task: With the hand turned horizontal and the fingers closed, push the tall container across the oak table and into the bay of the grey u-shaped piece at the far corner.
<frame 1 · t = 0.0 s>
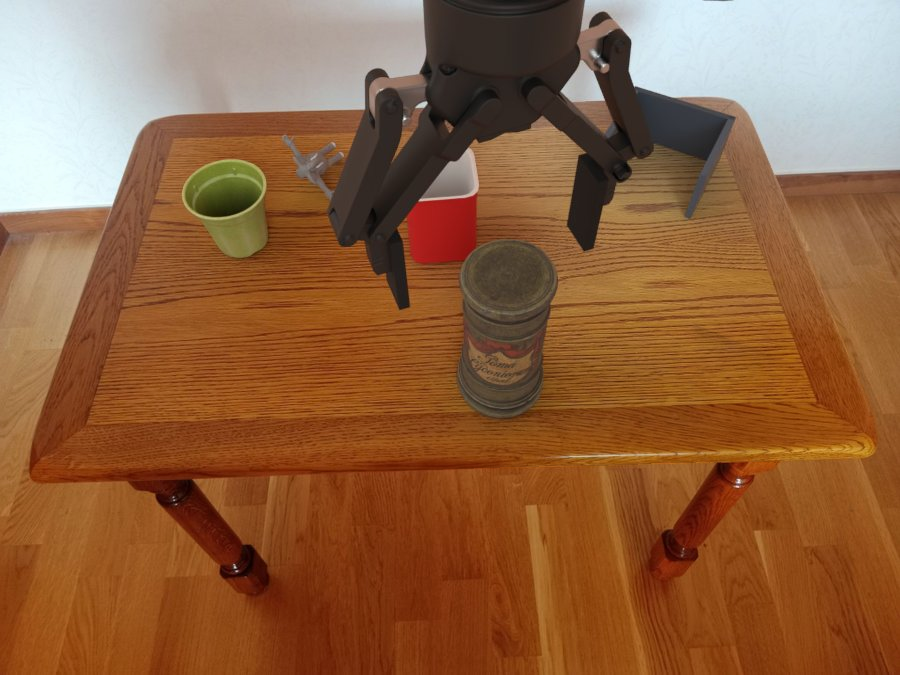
hand: (491, 265, 49), 27 cm above the table, tool pointing down, fingers open, 13 cm apart
container: (499, 383, 75), on the table
plant pot: (244, 240, 87), on the table
mug: (440, 227, 87), on the table
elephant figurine: (316, 179, 92), on the table
grey u-shaped piece: (656, 172, 92), on the table
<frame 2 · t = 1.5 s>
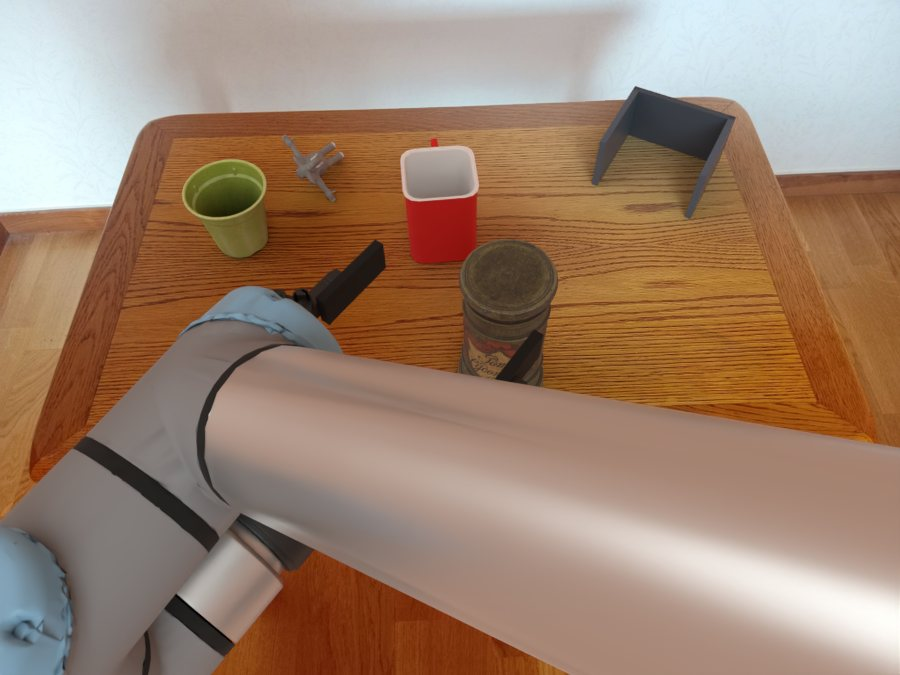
hand: (455, 295, 50), 24 cm above the table, tool horizontal, fingers open, 13 cm apart
nothing on the table moved.
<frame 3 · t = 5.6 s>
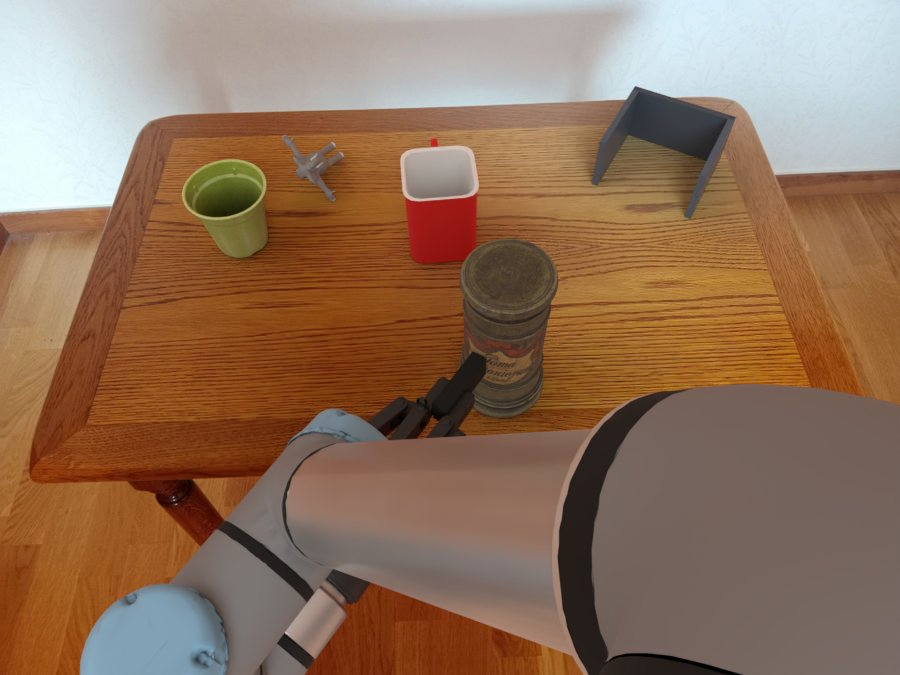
hand: (479, 362, 65), 9 cm above the table, tool horizontal, fingers closed
container: (499, 382, 75), on the table, touching gripper
everything else where it was.
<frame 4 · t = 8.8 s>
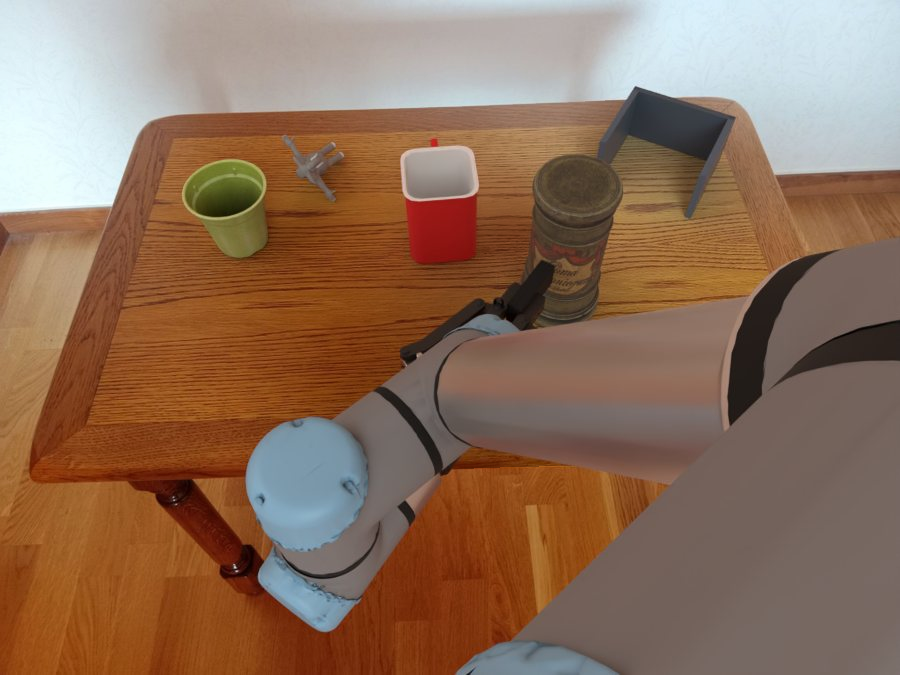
hand: (546, 271, 71), 9 cm above the table, tool horizontal, fingers closed
container: (556, 301, 80), on the table, touching gripper
everything else where it was.
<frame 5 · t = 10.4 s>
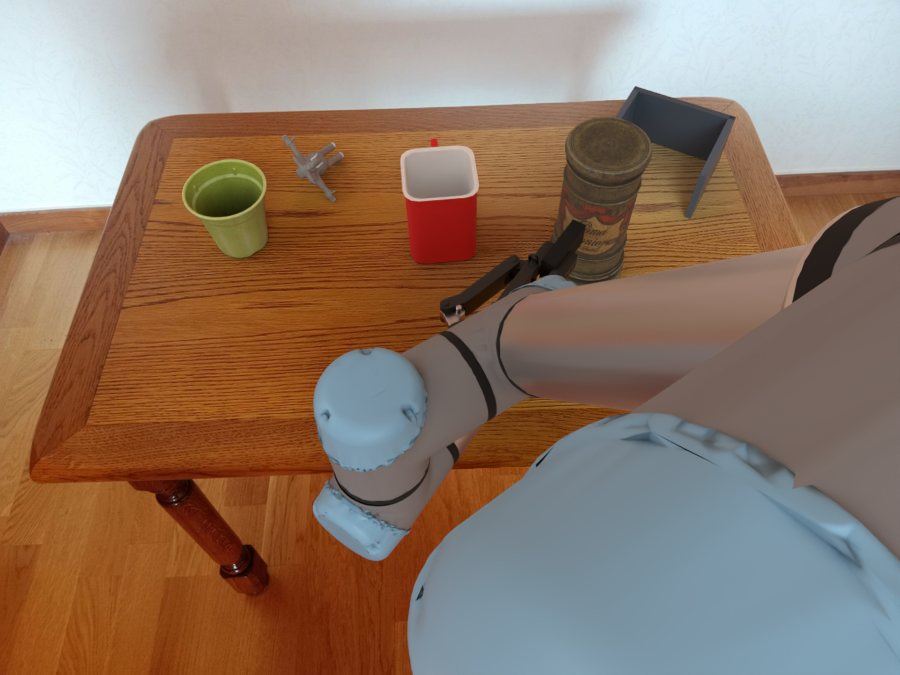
hand: (577, 231, 74), 9 cm above the table, tool horizontal, fingers closed
container: (582, 264, 83), on the table, touching gripper
everything else where it was.
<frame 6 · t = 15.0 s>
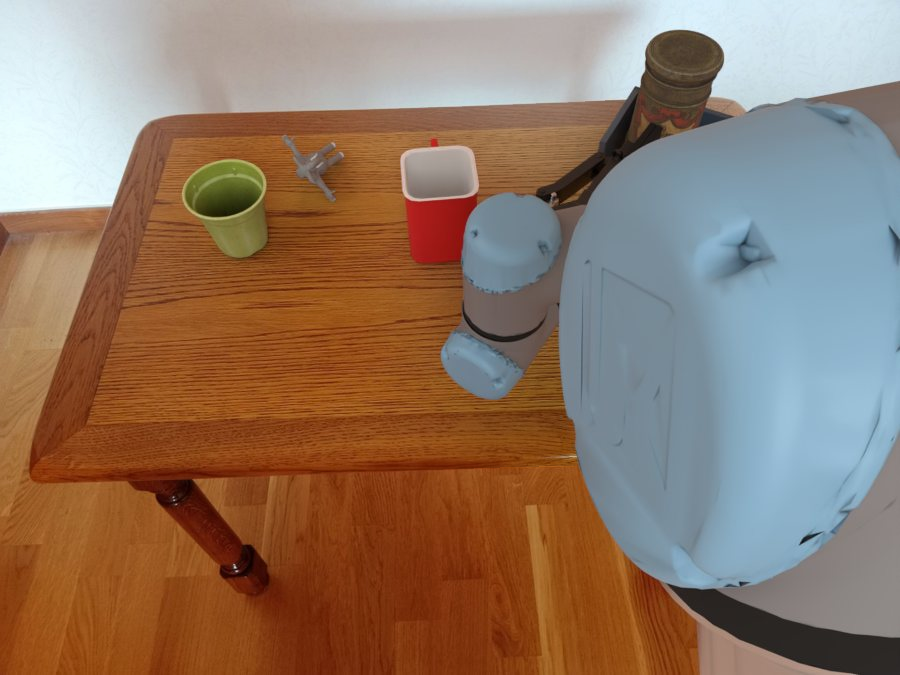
hand: (654, 134, 81), 10 cm above the table, tool horizontal, fingers closed
container: (648, 176, 91), on the table, touching gripper
everything else where it was.
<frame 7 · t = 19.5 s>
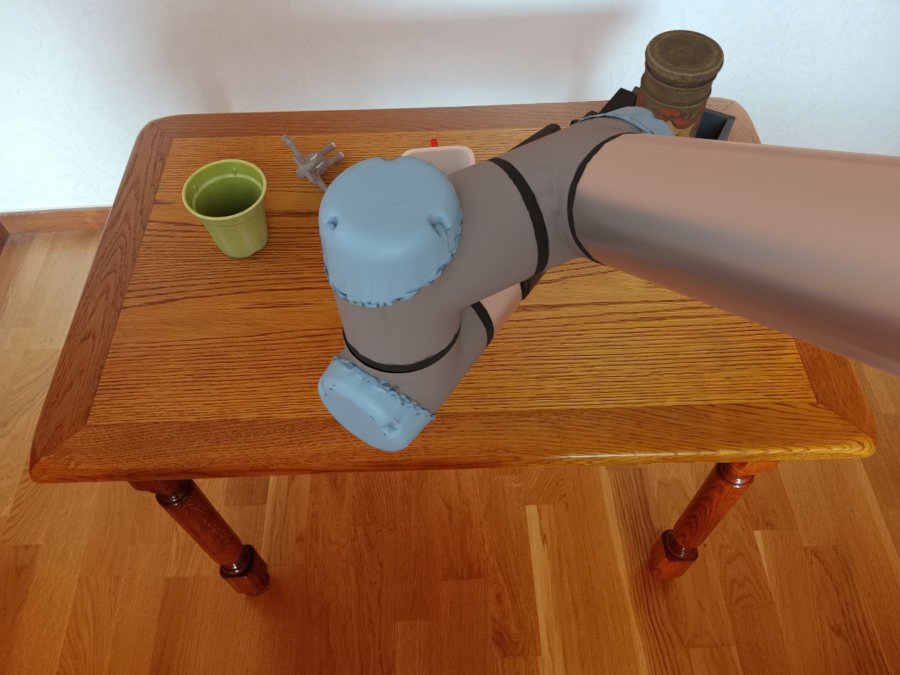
hand: (625, 103, 64), 23 cm above the table, tool horizontal, fingers closed
container: (648, 176, 91), on the table
everything else where it was.
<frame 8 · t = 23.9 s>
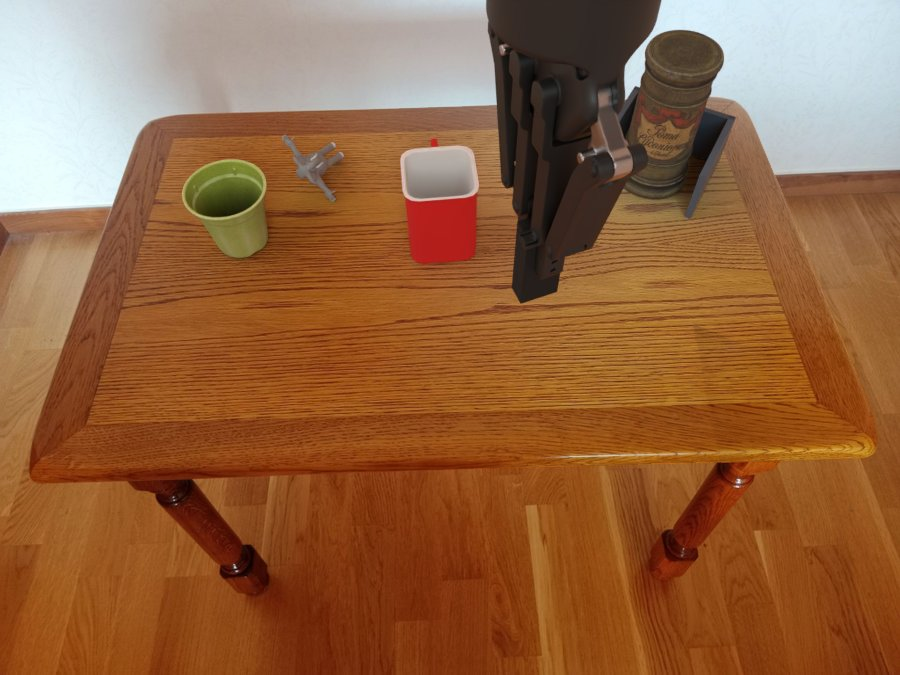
hand: (534, 289, 48), 26 cm above the table, tool pointing down, fingers closed
nothing on the table moved.
at the end: container inside the target area on the grey u-shaped piece (1.1 cm from its centre), point 0.0 cm above the grey u-shaped piece's base; container tilted 0°; the gripper is holding nothing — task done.
